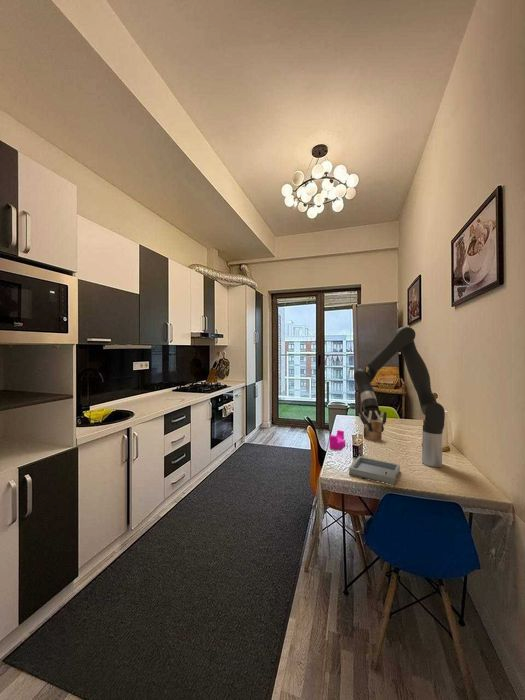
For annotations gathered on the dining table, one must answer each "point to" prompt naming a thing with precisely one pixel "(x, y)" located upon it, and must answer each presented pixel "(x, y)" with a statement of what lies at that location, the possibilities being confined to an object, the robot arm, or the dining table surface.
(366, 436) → the coffee box
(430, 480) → the dining table surface
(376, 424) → the walnut block
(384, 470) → the tray
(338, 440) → the toy block
